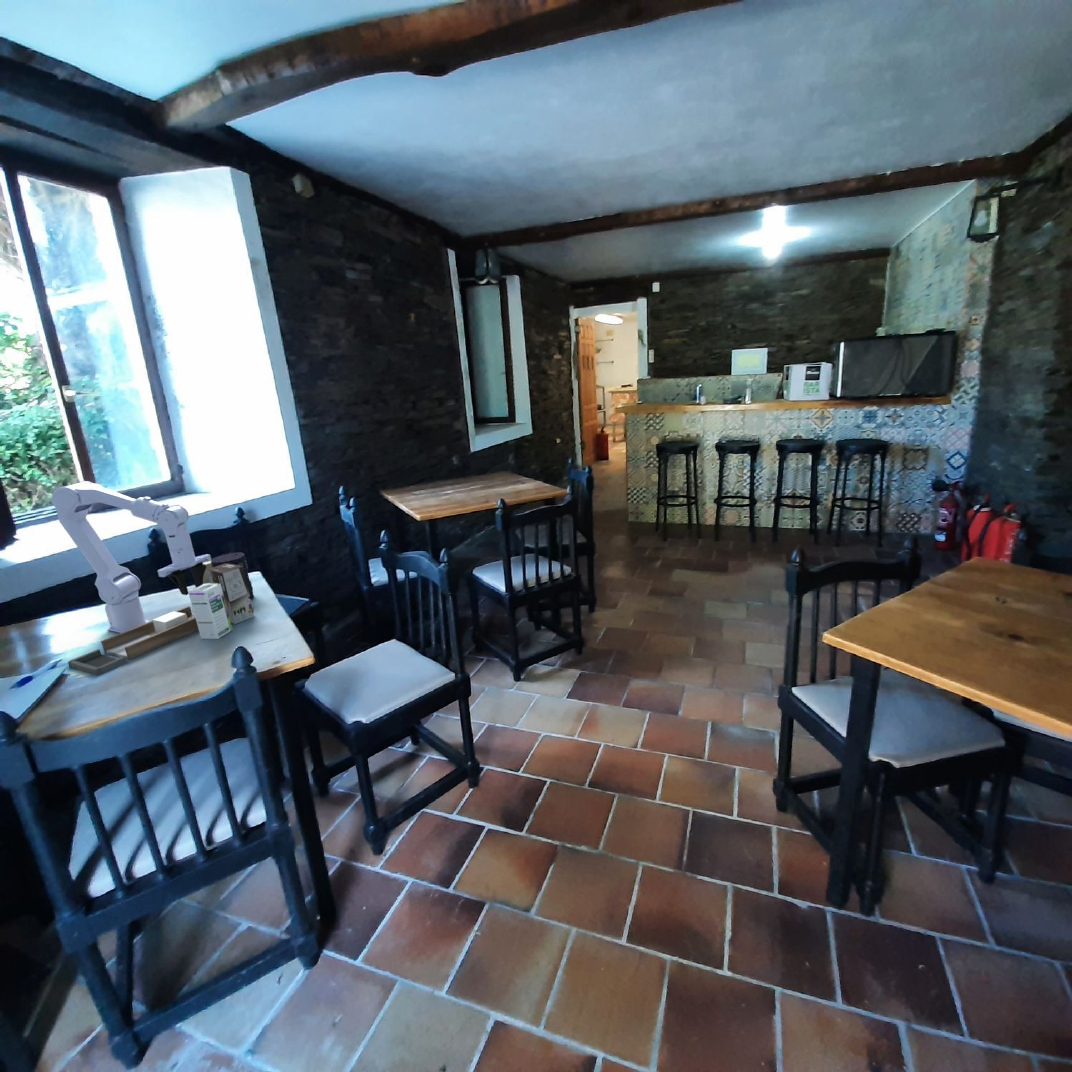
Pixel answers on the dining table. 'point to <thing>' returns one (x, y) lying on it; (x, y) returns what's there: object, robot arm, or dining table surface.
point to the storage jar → (236, 560)
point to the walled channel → (147, 637)
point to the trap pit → (96, 662)
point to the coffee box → (233, 590)
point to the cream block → (169, 621)
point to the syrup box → (210, 611)
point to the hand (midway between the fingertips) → (192, 591)
